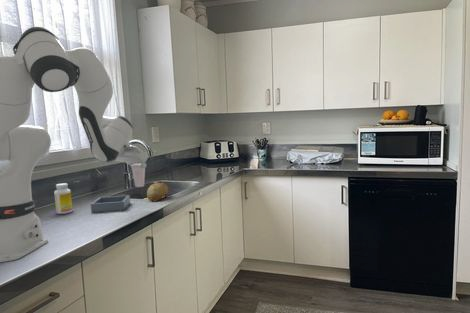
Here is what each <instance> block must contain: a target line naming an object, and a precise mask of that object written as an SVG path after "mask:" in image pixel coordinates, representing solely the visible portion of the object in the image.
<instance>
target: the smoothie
mask: <svg viewBox="0 0 470 313" xmlns="http://www.w3.org/2000/svg"><path fill="white" fill-rule="evenodd" d="M140 165H141V164H139V163H135V164H132V165H131V166H130V168H131V172H132V177H133V181H134V186H135V188H143V187H145V178H146V177H145V176H146V175H145V174H146V168H142V167H141V166H140Z"/></svg>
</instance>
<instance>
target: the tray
mask: <svg viewBox="0 0 470 313" xmlns="http://www.w3.org/2000/svg"><path fill="white" fill-rule="evenodd" d="M130 198H131V196H130V195H129V194H128V195H126V194H125V195H113V196H99V197H98V198H96V199H95V200H94V201H93V202H91V203H90V209H91V210H90V211H91V214H96V213H99V214H100V213H110V212H123V211H126V209H127V208H128V207H129V205H130V204H131V199H130Z"/></svg>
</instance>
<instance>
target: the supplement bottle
mask: <svg viewBox="0 0 470 313" xmlns="http://www.w3.org/2000/svg"><path fill="white" fill-rule="evenodd" d="M68 185H69V184H68V183H66V182H64V183H63V182H62V183H57V184H55V188H56V190H54V191H53V192H54V193H53V194H54V202H55V211H56V214H58V215H65V214H70V213H72V212H73V211H74V210H73V201H72V200H73V199H72V190H71V189H70V188H68Z"/></svg>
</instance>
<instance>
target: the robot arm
mask: <svg viewBox="0 0 470 313" xmlns="http://www.w3.org/2000/svg"><path fill="white" fill-rule="evenodd" d="M12 51H13V55H2V56H0V162H4V161H9V165H8V167H7V168H6V169H4V170H3V171H1V172H0V263H5V262H11V261H14V260H18V259H21V258H23V257H24V256H26V255H28V254H30V253H31V252H33V251H35V250H37V249H38V248H40V247H42V246H43V245H46V244H47V243H48V242H49V241H48V240H49V239H48V238H46V237H44V233H43V228H42V223H41V222H42V221H41V218H40V217H39V216H38V215H37V214H36V213H35V211H36V209H35V208H36V207H35V200H34V199H33V196H32V175H33V171H34V169H35V166H36V165H37V164H38V162H39V161H40V160H41V158H42V157H44V156H45V155H46V154H47V153H49V150H50V148H51V144H52V140H51V136H50V134H49V132H48V131H47V130H46V129H45V127H42V126H38V125H37V126H36V125H29V124H28V125H27V124H25V123H26V122H27V121H28V119H29V117H30V115H31V114H30V113H31V107H32V106H31V105H32V98H33V97H32V96H33V88H34V86H35V85H36V86H37V87H38V88H39V89H41V91H42V90H43V91H44V92H49V93H58V92H61V91H64V90H67V89H69V88H70V87H73V88H74V89H75V91H76V93H77V98H78V116H79V119H80V123H81V125H82V127H83V130H84V132H85V135H86V137H87V140H88V143H89V148H90V152H91V155H92V156H93V157H94V158H95V159H96V160H97V161H100V162H103V163H108V162H113V161H116V162H119V163H120V162H121V163H124V164H127V165H129V166H130V167H131V165H132V164H136V163H137V164H141V165H140V166H141V167H142V168H145V169H146V167H147V163H146V162H147V160H148V159H149V156H148V154H147V153H146V152H144V150H143V149H142V148H140V147H138V146H136V145H130V141H129V139H130V137H131V136H132V134H133V132H134V127H133V125H132V123H131V121H130V120H128V119H127V118H126V117H124V116H122V115H115V116H105V115H104V114H105V113H106V112H105V111H106V110H107V108H108V106H109V103H110V101H111V100H112V97H113V95H114V94H113V93H114V90H113V84H112V83H113V82H112V79H111V77H110V75H109V74H108V71H107V70H106V68H105V66H104V64H103V63H102V61H101V59H100V58H99V57H98V55H97V54H96V53H95V52H94V51H93V50H92V49H89V48H88V47H77V48H73V49H71V50H67V49H65V48H64V47H63V45H62V44H61V41H60V39H59V37H57V36H56V35H55V34H54V33H53V32H52V31H51V30H49V29H47V28H46V27H42V26H33V27H29V28H27V29H26V30H25V31H24V32H23V33H22V34H21V36H20V37H19V39H18V41H17V42H16V43H15V44H14V45H13V47H12ZM24 124H25V125H24Z"/></svg>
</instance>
